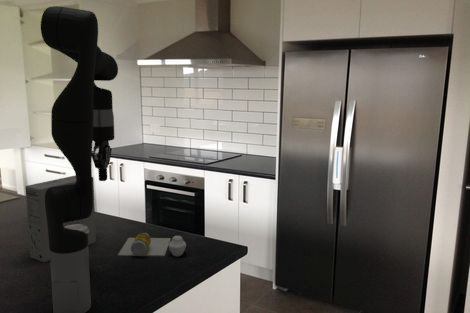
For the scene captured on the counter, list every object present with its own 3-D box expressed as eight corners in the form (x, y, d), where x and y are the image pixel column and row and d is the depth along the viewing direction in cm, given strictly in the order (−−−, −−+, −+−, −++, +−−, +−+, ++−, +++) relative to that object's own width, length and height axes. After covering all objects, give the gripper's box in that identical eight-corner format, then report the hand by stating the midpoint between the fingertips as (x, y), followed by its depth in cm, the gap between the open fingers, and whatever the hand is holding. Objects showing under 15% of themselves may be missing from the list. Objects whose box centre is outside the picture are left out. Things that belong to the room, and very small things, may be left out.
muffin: (175, 259, 140) (175, 240, 139) (164, 254, 144) (164, 235, 143) (189, 254, 144) (189, 235, 143) (178, 249, 149) (178, 231, 147)
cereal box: (82, 238, 158) (79, 174, 154) (96, 242, 154) (93, 176, 150) (29, 257, 140) (24, 185, 135) (44, 263, 136) (39, 189, 131)
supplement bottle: (133, 238, 140) (139, 228, 150) (128, 253, 141) (134, 241, 151) (149, 244, 140) (154, 233, 150) (143, 259, 141) (148, 247, 151)
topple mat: (164, 256, 143) (164, 255, 143) (117, 255, 142) (117, 254, 142) (170, 239, 158) (170, 238, 158) (128, 238, 158) (128, 237, 158)
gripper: (107, 126, 118) (109, 185, 121) (119, 122, 131) (120, 175, 134) (80, 126, 118) (83, 185, 121) (95, 122, 131) (97, 175, 134)
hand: (103, 180), depth 127 cm, fingers closed
